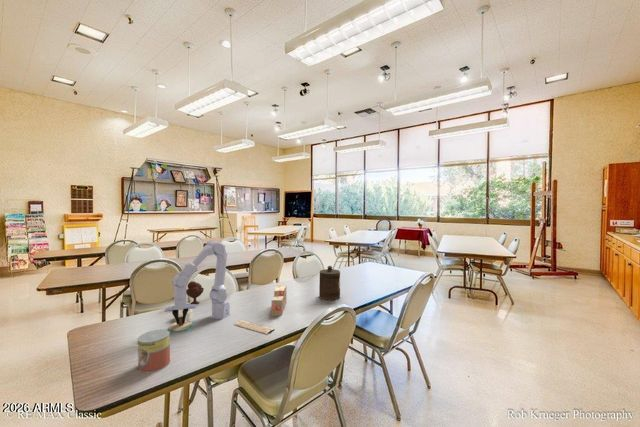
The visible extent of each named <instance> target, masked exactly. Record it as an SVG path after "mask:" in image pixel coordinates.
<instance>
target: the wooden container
mask: <svg viewBox="0 0 640 427" xmlns="http://www.w3.org/2000/svg"><path fill="white" fill-rule="evenodd" d="M326 268H327V269H325V268H324V269H320V270H319V284H318V286H319V287H318V289H319V291H318V292H319V293H318V294H319V298H320V299H322V300H326V301H329V300H330V301H331V300H337V299H338V300H339V299H340V298H341V270H338V269H333V266H332V265H328V266H327V267H326Z"/></svg>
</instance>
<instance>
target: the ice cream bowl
mask: <svg viewBox="0 0 640 427" xmlns="http://www.w3.org/2000/svg"><path fill="white" fill-rule="evenodd" d="M204 290H205V288H204V287H202V284H200V282H199V283H198V282H196V281H189V282H188V284H187V288H186V296H188V297H189V298H192V299H193V301H192V302H190V304H196V306H197V305H199V304H200V302H199V301H198V300H197V298H199V297H200V296H201V295H202V294H203V292H204Z"/></svg>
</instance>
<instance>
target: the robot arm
mask: <svg viewBox="0 0 640 427" xmlns="http://www.w3.org/2000/svg"><path fill="white" fill-rule="evenodd" d="M211 255H213V256H215V257H216V265H215V272H214V273H215V274H214V284H213V285H212V287H211V290H210V292H209V293H208V294H209V298H210V299H211V315H210V316H208V318H209V319H218V320H224V319H225V318H227V317H228V316H231V313H230V312H231V311H230V303H229V302H228V301H226V300H227V298H228V293H227V288H226V286H225V279H226V277H225V276H226V269H227V259H228V252H227V251H226V245H225V244H223V243H222V242H220V241H218V242H217V241H213V240H210V241H208V242H207V243H206V244H205V245H204V246H203V248H202V250H201V251H200V252H199V253H198V255H196V257H195V259H194V260H193V261H192V262H189V263H187V264H184V268H182V270H181V271H179V272H178V274H176V275H175V276H173V277H172V280H171V283H172V285H173V286H174V287H173V298H174V301H173V303H174V304H173V305H171V306H165V308H164V312H165V313H167V312H171V314H172V315H173V316H172V317H174V320H175V319H176V321H175V322H176V323H177V324H178V318H179V316H178V315H179V310H183V324H184V323H185V317H186V314H187V312H188V309H192V310H195V309H196V308H197V305H196V304H191V303H187V294H186V290H187V286H188V284H189V280H190V278H191V277H192V276H193V275H194V274H195V272H197V271H198V266H199V265H200V264H201V263H202V262H203V261H204V260H205V259H206V258H207V257H208V256H211Z"/></svg>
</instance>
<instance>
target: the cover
mask: <svg viewBox="0 0 640 427" xmlns="http://www.w3.org/2000/svg"><path fill="white" fill-rule="evenodd" d="M192 322H193V321H191V320H187V321H185V323H184V324H183V317H179V318H178V324H177V323H176V321H175V322H173V323H171V324H169V326H168V328H169V330H170V331H183V330H186V329H189V328H190V327H192Z"/></svg>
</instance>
